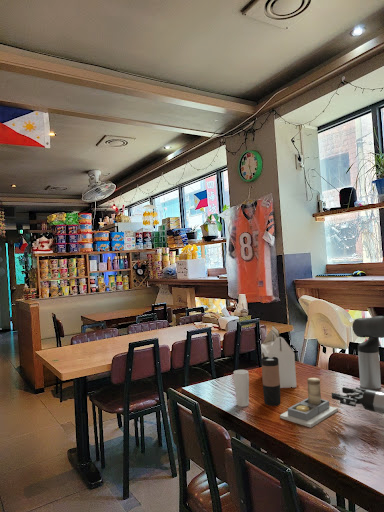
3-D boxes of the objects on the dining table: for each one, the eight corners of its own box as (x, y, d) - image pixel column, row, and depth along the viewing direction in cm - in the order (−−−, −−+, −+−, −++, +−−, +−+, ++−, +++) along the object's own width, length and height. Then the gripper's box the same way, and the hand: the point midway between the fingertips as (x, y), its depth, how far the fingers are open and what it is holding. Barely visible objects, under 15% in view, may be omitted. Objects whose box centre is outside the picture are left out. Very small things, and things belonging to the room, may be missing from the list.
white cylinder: (234, 403, 177) (232, 370, 177) (248, 401, 178) (246, 369, 178) (237, 408, 170) (234, 374, 170) (252, 407, 171) (250, 373, 171)
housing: (307, 403, 172) (307, 393, 172) (337, 410, 161) (337, 401, 161) (280, 417, 158) (279, 408, 158) (310, 427, 147) (310, 417, 147)
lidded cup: (309, 405, 166) (308, 377, 166) (322, 406, 164) (320, 378, 164) (308, 409, 161) (306, 380, 162) (320, 411, 159) (319, 381, 159)
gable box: (262, 375, 215) (259, 325, 216) (286, 374, 215) (283, 324, 215) (270, 389, 193) (266, 332, 193) (296, 387, 193) (293, 331, 193)
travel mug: (271, 407, 169) (268, 361, 169) (260, 402, 176) (257, 358, 176) (284, 403, 173) (282, 358, 173) (273, 398, 179) (271, 355, 180)
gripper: (386, 386, 147) (345, 378, 160) (369, 397, 138) (327, 387, 150) (387, 406, 147) (346, 397, 159) (371, 418, 138) (328, 407, 150)
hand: (337, 392), depth 155 cm, fingers open, 8 cm apart
